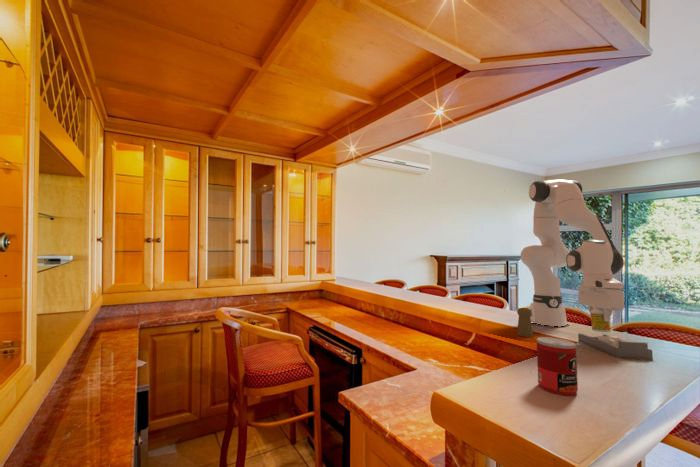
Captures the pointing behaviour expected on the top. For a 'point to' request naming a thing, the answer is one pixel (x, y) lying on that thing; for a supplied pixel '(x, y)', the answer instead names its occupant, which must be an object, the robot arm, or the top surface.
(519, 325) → the cork
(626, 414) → the top surface
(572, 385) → the canned food
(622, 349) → the pusher lane
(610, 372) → the top surface
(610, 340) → the pale grey block
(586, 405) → the top surface
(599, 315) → the supplement bottle
